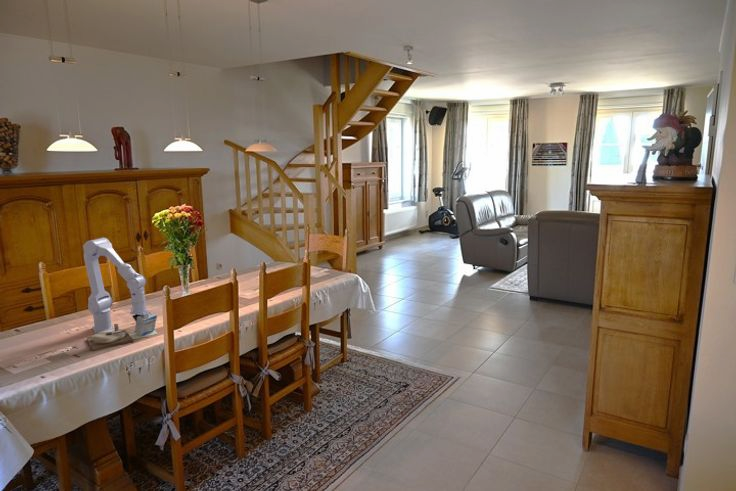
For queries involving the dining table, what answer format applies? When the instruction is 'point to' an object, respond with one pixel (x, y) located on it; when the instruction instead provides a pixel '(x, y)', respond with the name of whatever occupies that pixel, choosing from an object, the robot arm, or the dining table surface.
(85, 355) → the dining table surface
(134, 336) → the mat
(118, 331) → the index wheel
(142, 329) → the medicine box
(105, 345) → the base board
